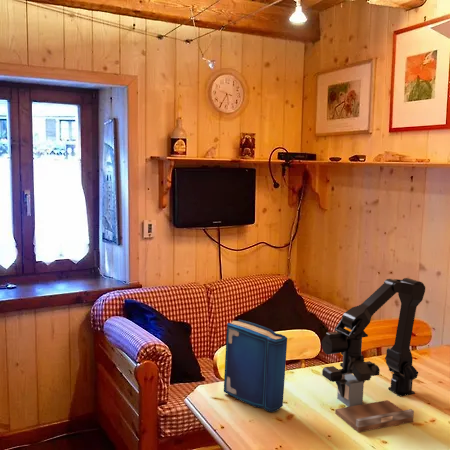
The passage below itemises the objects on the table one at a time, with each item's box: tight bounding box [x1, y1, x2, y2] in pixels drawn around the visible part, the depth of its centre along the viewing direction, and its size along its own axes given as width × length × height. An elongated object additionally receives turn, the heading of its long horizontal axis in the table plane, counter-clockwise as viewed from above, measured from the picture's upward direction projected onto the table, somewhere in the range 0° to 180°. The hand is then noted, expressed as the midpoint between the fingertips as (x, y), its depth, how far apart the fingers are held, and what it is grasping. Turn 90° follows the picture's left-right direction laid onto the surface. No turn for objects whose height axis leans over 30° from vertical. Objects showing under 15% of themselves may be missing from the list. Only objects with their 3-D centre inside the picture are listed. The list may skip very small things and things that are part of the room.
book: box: [223, 318, 288, 413], centre depth 168 cm, size 22×7×25 cm, turn 47°
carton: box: [336, 374, 365, 407], centre depth 170 cm, size 5×7×8 cm
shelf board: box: [334, 399, 415, 433], centre depth 160 cm, size 20×12×4 cm, turn 111°
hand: (349, 396), depth 171 cm, fingers closed on carton, 5 cm apart
